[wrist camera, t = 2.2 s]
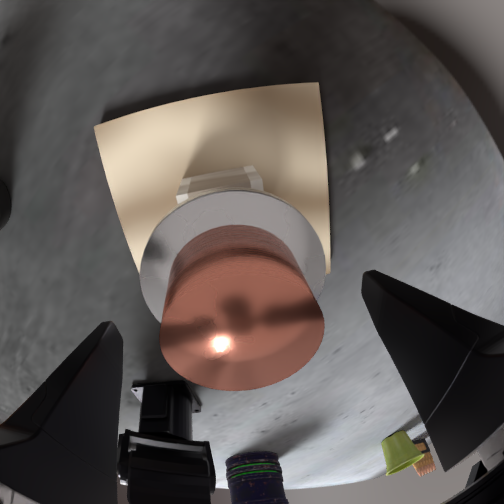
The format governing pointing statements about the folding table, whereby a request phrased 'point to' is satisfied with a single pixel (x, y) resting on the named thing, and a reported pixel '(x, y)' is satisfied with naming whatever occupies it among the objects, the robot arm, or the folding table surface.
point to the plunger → (235, 288)
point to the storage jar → (255, 478)
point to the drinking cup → (4, 205)
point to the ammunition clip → (423, 458)
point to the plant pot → (399, 452)
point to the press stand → (218, 155)
